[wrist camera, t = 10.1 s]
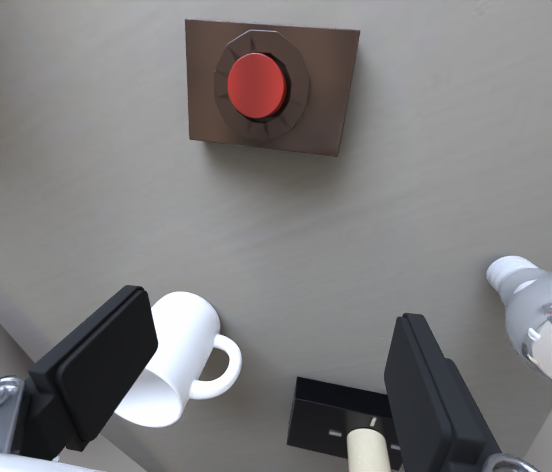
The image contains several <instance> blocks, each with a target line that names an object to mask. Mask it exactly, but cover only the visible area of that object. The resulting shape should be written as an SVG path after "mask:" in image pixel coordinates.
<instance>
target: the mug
mask: <svg viewBox="0 0 552 472" xmlns="http://www.w3.org/2000/svg"><path fill="white" fill-rule="evenodd" d="M151 311H152V316H153V320H154V325H155V329H156V334H157V338H158V349H157V351H156V353H155V354H154V356H153V357H152V359H151V360H150V361H149V363H148V364H147V366H146V367H145V369H144V370H143V371H142V373H141V374H140V376H139V377H138V379H137V380H136V381H135V383H134V384H133V386H132V387H131V389H130V390H129V391H128V393H127V394H126V396H125V397H124V399H123V400H122V401H121V403H120V404H119V406H118V407H117V409H116V410H115V411H114V413H116V414H117V415H119V416H120V417H122V418H124V419H126V420H128V421H130V422H133V423H135V424H138V425H142V426H147V427H165V426H169V425H171V424H173V423H175V422H176V421H177V420H178V419H179V418H180V416H181V415H182V413H183V410H184V408H185V406H186V404H187V402H188V400H189V399H210V398H213V397H216V396H218V395H221V394H222V393H224V392H225V391H227V390H228V389H229V388H230V387H231V386H232V385H233V384H234V382H235V381H236V379H237V378H238V376H239V373H240V371H241V366H242V356H241V352H240V349H239V347H238V346H237V345H236V344H235V342H233V341H232V340H231V339H229V338H227V337H225V336H223V335H220V334H219V332H220V320H219V317H218V314H217V312H216V311H215V309H214V308H213V307H212V306H211V305H210V304H209V303H208V302H207V301H206V300H205V299H203V298H201V297H200V296H197V295H195V294H192V293H188V292H174V293H170V294H168V295H165V296H164V297H163V298H161V299H160V300H159V301H158V302H157V303H156V304H155V305H154V306H153V307H152V308H151ZM213 348H218V349H221V350H223V351H225V352H226V353H227V354H228V355H229V358H230V362H229V366H228V369H227V370H226V372H225V373H224V374H223V375H222V376H221V377H220V378H218V379H216V380H213V381H199V380H198V379H199V377H200V375H201V373H202V370H203V368H204V366H205V364H206V362H207V360H208V358H209V356H210V353H211V351H212V349H213Z"/></svg>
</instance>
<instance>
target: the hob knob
mask: <svg viewBox="0 0 552 472" xmlns="http://www.w3.org/2000/svg"><path fill="white" fill-rule="evenodd" d="M347 450H348V465H349V472H391V467H390V462H389V456H388V451H387V446H386V441H385V438H384V437H383V435H381V434H380V433H379V432H377V431H374V430H371V429H364V428H362V429H356V430H353V431H351V432H350V433H349V434H348V436H347Z"/></svg>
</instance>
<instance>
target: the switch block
mask: <svg viewBox="0 0 552 472" xmlns="http://www.w3.org/2000/svg"><path fill="white" fill-rule="evenodd" d="M185 32H186V58H187V85H188V111H189V138H190V140H199V141H208V142H216V143H225V144H233V145H242V146H251V147H259V148H268V149H277V150H285V151H294V152H302V153H311V154H320V155H328V156H338V153H339V147H340V141H341V136H342V130H343V125H344V119H345V113H346V108H347V102H348V97H349V91H350V86H351V80H352V74H353V69H354V63H355V58H356V52H357V47H358V41H359V35H360V30H351V29H336V28H321V27H306V26H291V25H276V24H261V23H245V22H230V21H215V20H200V19H185ZM251 53H259V54H263V55H266V56H268V57H269V58H271V59H272V60H273V61H274V62H275V63H276V64H277V65H278V66H279V67H280V68H281V70H282V72H283V73H284V76H285V78H286V83H287V94H286V98H285V101H284V103H283V105H282V107H281V108H280V109H279V110H278V111H277V112H276V113H275V114H273V115H272V116H269V117H266V118H250V117H247V116H245V115H243V114H242V113H240V112H239V111H238V110H237V109H236V108H235V107H234V105H233V104H232V102H231V99H230V97H229V93H228V77H229V74H230V71H231V69H232V67H233V65H234V64H235V63H236V62H237V61H238V60H239V59H240V58H241V57H243V56H245V55H247V54H251Z"/></svg>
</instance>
